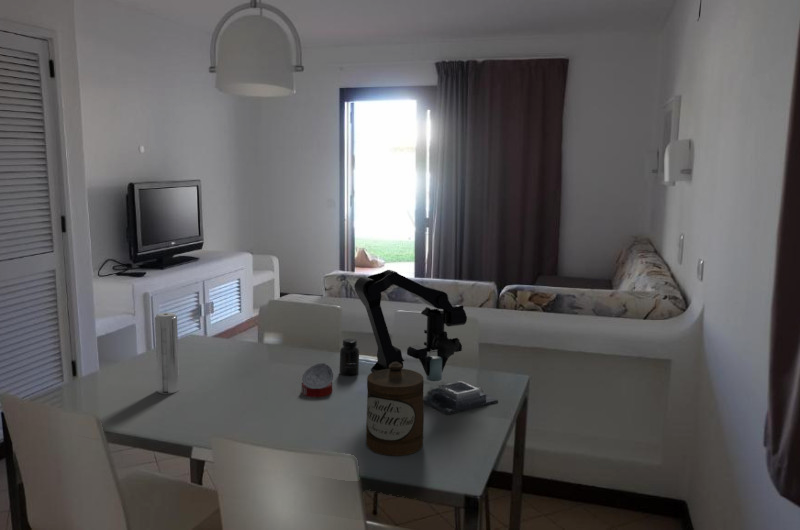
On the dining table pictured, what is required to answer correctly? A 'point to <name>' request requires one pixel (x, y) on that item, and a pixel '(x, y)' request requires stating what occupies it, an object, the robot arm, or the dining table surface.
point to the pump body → (435, 369)
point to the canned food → (317, 381)
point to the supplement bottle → (349, 358)
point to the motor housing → (457, 397)
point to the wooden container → (395, 411)
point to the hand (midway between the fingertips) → (434, 374)
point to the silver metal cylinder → (167, 353)
